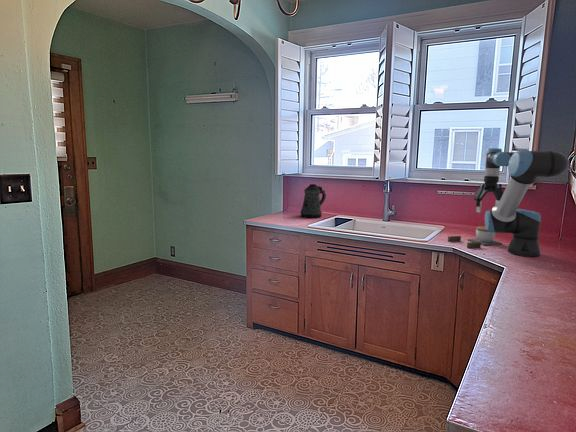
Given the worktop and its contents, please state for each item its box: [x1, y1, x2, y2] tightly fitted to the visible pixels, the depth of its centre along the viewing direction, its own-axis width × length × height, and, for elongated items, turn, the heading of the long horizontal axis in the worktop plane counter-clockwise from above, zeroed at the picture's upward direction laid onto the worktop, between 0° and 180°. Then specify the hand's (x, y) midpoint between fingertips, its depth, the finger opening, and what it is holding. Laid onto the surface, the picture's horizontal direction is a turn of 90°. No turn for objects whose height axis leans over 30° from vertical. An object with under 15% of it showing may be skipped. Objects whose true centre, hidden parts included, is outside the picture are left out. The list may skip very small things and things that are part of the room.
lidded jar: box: [475, 225, 496, 242], centre depth 234 cm, size 11×11×9 cm
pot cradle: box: [447, 235, 482, 250], centre depth 229 cm, size 17×8×3 cm, turn 18°
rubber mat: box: [467, 237, 503, 247], centre depth 235 cm, size 13×13×1 cm
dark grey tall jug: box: [300, 183, 327, 219], centre depth 308 cm, size 16×19×25 cm
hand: (487, 212), depth 232 cm, fingers open, 13 cm apart
